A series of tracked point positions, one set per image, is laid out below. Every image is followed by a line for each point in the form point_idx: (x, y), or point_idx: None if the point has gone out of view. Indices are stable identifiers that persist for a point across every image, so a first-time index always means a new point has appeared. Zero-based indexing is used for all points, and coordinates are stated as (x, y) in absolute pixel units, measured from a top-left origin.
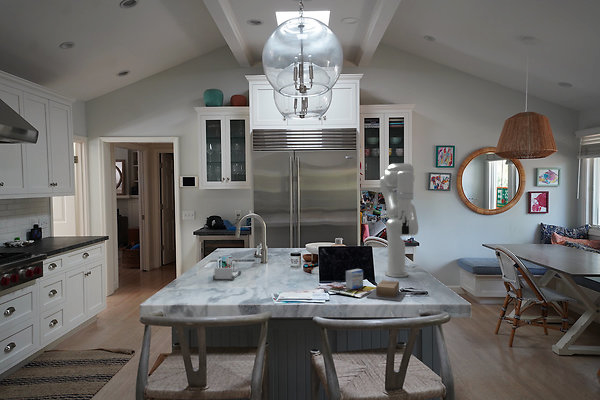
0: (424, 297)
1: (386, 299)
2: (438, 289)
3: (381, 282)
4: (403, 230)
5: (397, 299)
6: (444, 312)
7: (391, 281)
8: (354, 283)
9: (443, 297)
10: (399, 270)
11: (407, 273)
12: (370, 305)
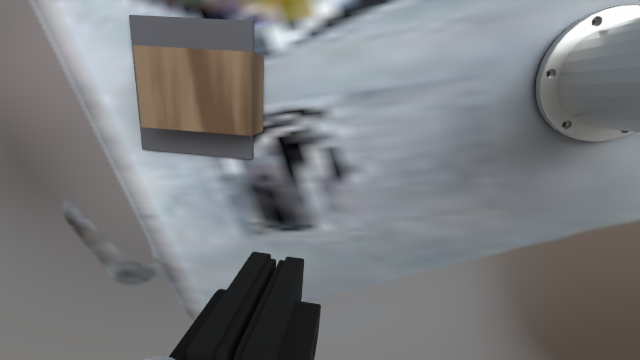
0: (227, 221)
1: (138, 99)
2: (348, 266)
3: (207, 56)
4: (204, 311)
5: (150, 138)
6: (107, 271)
7: (243, 101)
8: None
9: None
10: (575, 100)
11: (595, 139)
12: (58, 52)
